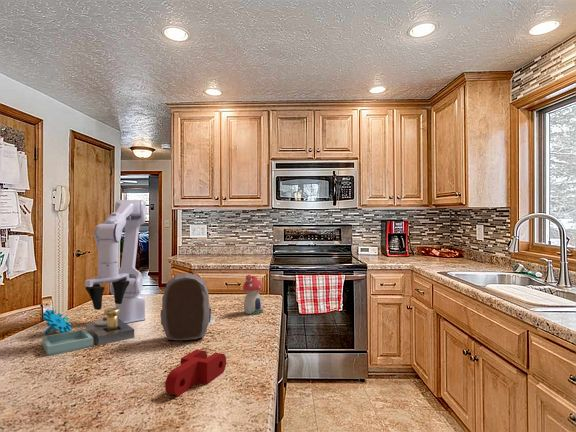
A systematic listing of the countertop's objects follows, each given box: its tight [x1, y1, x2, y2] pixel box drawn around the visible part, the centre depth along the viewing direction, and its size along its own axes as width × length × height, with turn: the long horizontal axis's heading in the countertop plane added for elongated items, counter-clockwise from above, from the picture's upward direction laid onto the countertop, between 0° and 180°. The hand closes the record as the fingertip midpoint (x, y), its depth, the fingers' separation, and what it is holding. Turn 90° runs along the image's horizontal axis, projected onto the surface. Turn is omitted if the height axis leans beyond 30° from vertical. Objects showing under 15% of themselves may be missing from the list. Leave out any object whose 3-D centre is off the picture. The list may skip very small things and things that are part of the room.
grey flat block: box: [85, 316, 135, 346], centre depth 115 cm, size 10×16×4 cm, turn 41°
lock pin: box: [103, 307, 120, 332], centre depth 113 cm, size 4×4×8 cm
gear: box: [41, 309, 72, 335], centre depth 117 cm, size 11×6×10 cm
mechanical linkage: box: [164, 349, 227, 397], centre depth 82 cm, size 16×7×5 cm, turn 158°
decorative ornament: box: [242, 274, 264, 316], centre depth 141 cm, size 9×6×15 cm
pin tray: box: [41, 328, 94, 357], centre depth 105 cm, size 11×11×2 cm
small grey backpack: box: [160, 272, 213, 341], centre depth 112 cm, size 15×8×20 cm, turn 99°
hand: (108, 306), depth 113 cm, fingers open, 7 cm apart
